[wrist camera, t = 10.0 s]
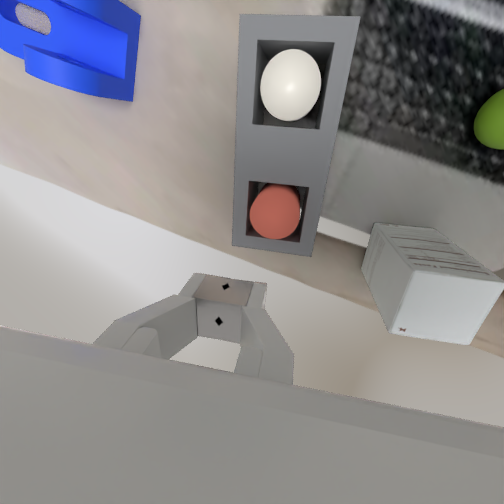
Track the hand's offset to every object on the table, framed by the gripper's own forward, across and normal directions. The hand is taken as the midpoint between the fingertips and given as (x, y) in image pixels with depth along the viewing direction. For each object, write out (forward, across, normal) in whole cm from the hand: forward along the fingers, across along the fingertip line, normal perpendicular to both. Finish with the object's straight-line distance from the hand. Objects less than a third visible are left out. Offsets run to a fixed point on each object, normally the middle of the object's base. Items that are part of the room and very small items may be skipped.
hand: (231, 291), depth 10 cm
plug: (+23, -1, -9) cm, 25 cm away
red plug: (+22, 0, +2) cm, 22 cm away
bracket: (+25, +26, -14) cm, 39 cm away
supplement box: (+24, -16, +8) cm, 30 cm away
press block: (+24, 0, -4) cm, 24 cm away
